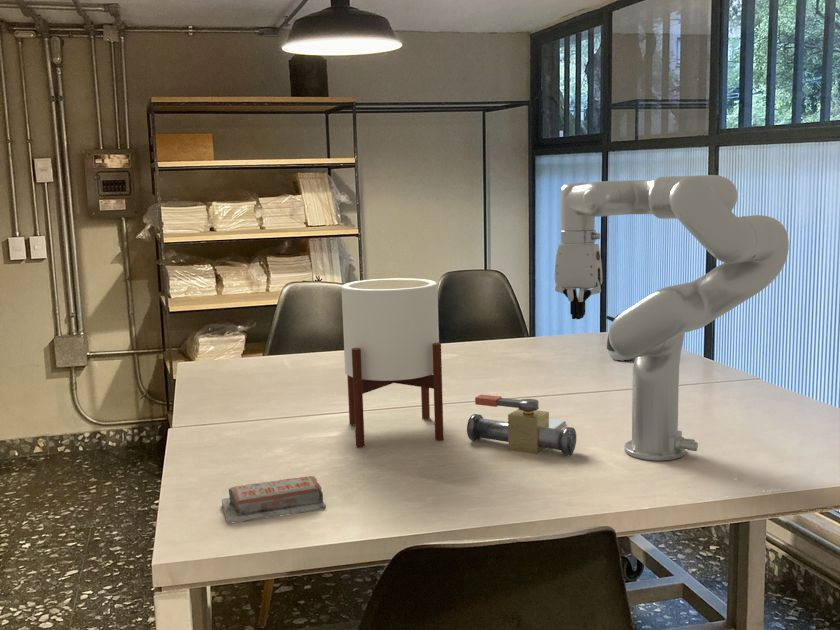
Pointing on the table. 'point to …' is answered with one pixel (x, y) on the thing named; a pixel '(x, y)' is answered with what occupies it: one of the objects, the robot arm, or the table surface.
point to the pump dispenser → (610, 349)
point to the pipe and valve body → (524, 432)
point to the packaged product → (273, 499)
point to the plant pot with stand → (392, 343)
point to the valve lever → (507, 402)
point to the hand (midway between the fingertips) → (577, 318)
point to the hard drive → (556, 423)
